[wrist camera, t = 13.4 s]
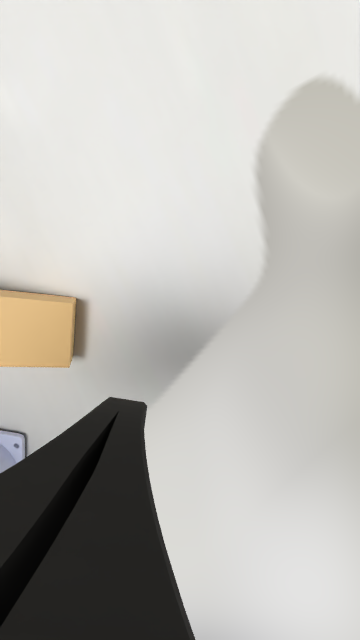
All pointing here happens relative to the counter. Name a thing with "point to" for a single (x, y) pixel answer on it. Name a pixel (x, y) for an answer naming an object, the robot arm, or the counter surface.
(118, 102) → the counter surface
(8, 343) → the ochre domino
